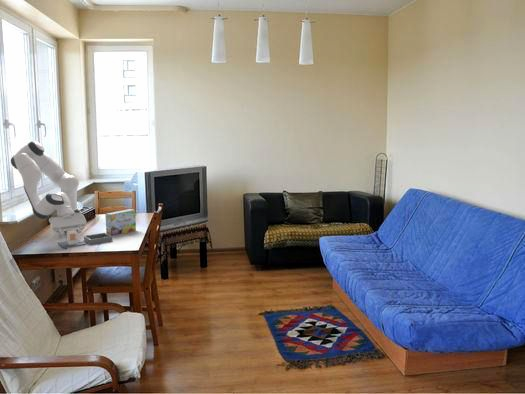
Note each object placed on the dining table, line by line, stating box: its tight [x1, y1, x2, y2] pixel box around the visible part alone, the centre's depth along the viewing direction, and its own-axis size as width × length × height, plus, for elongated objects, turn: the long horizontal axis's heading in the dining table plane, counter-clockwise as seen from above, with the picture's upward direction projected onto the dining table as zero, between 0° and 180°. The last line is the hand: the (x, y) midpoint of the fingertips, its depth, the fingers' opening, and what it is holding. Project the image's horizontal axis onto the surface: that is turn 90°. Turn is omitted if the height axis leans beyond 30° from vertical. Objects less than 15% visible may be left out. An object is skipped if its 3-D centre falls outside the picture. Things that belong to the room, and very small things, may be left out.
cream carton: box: [65, 230, 78, 245], centre depth 275 cm, size 5×4×8 cm
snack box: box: [105, 208, 137, 237], centre depth 305 cm, size 21×6×15 cm, turn 148°
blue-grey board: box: [57, 238, 86, 250], centre depth 277 cm, size 16×12×1 cm
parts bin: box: [83, 232, 113, 246], centre depth 283 cm, size 13×13×4 cm
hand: (71, 233), depth 275 cm, fingers open, 8 cm apart
